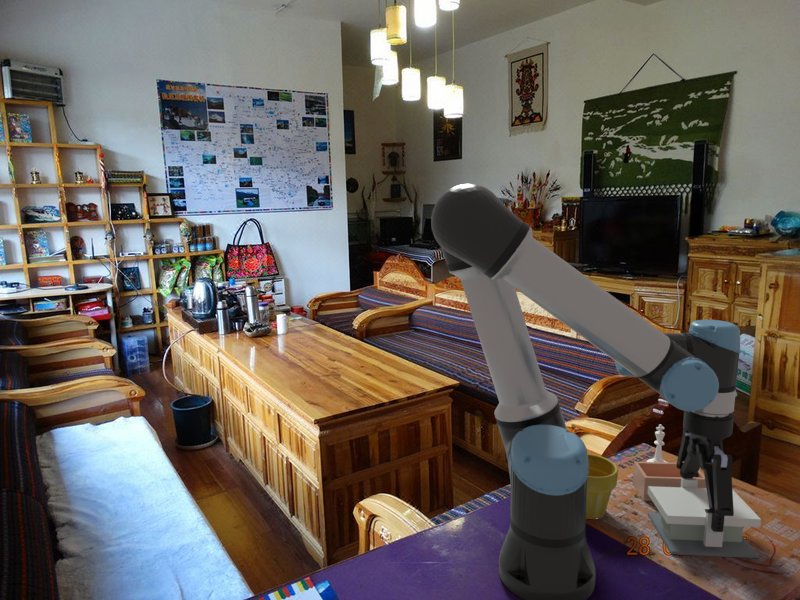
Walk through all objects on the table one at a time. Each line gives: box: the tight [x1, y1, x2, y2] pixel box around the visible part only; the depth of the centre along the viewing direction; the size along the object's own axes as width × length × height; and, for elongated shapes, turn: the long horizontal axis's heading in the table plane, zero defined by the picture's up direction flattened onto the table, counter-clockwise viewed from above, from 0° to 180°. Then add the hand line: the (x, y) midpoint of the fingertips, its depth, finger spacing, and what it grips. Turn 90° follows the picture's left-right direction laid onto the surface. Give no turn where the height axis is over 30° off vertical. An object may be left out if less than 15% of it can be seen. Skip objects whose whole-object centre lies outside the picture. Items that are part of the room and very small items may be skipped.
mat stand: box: [647, 512, 759, 559], centre depth 99 cm, size 14×12×5 cm
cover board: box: [648, 486, 762, 528], centre depth 98 cm, size 15×10×2 cm, turn 84°
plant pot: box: [586, 453, 619, 520], centre depth 107 cm, size 10×10×10 cm
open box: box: [632, 461, 706, 502], centre depth 114 cm, size 12×7×5 cm, turn 84°
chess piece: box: [646, 424, 669, 463], centre depth 125 cm, size 5×5×10 cm
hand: (699, 527), depth 99 cm, fingers closed on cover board, 10 cm apart
